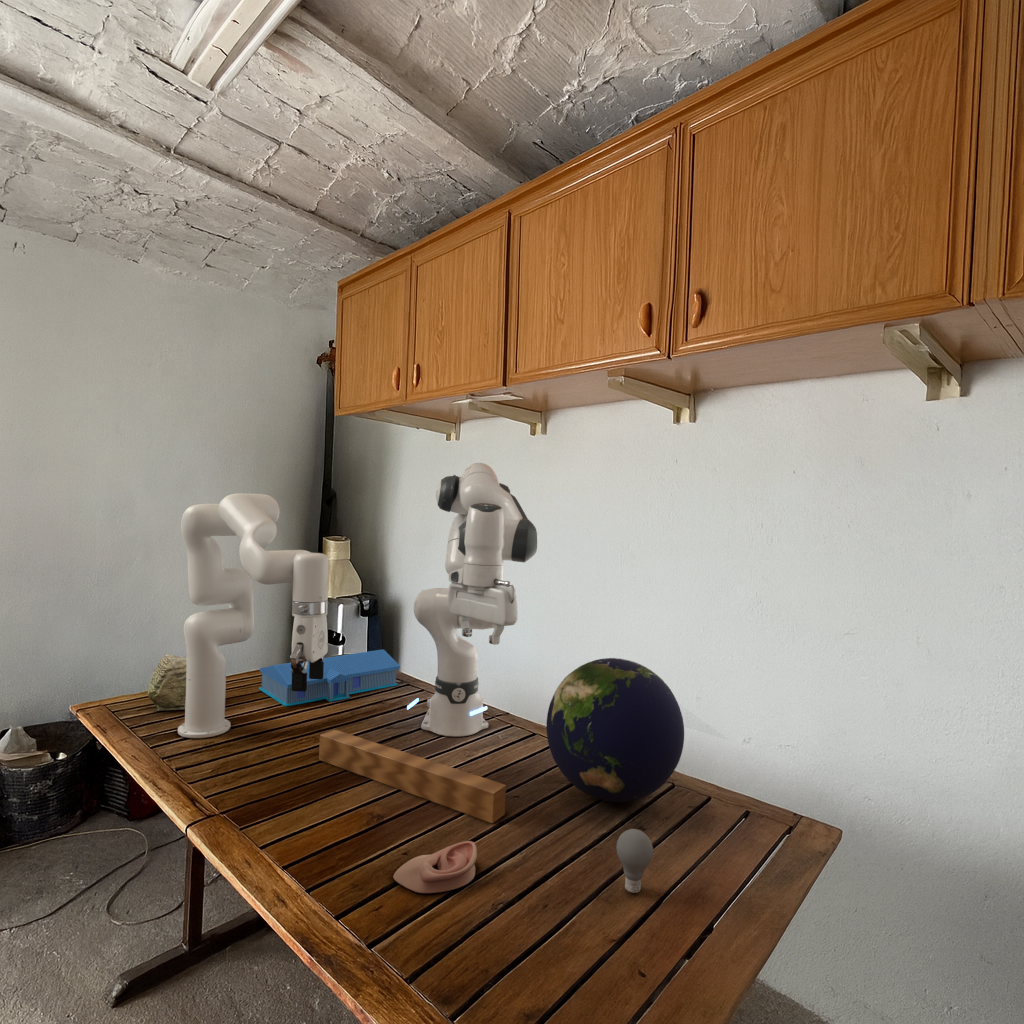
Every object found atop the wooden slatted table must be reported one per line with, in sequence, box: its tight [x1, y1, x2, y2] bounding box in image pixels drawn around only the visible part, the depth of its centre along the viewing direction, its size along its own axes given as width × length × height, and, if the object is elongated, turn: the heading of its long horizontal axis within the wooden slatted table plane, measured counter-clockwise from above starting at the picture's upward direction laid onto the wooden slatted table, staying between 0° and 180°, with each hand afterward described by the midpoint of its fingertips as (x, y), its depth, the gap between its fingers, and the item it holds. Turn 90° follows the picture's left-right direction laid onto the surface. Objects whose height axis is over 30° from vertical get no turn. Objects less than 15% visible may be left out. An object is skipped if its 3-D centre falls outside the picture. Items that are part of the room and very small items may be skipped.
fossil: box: [147, 654, 187, 712], centre depth 185 cm, size 9×18×15 cm, turn 132°
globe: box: [545, 657, 685, 803], centre depth 140 cm, size 30×30×30 cm
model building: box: [258, 649, 401, 707], centre depth 208 cm, size 39×24×10 cm, turn 132°
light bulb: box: [615, 828, 654, 894], centre depth 106 cm, size 6×6×10 cm
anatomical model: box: [392, 840, 478, 894], centre depth 108 cm, size 13×4×12 cm
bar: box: [318, 729, 507, 824], centre depth 141 cm, size 50×5×6 cm, turn 58°
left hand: (307, 684), depth 142 cm, fingers open, 9 cm apart
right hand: (480, 640), depth 139 cm, fingers open, 8 cm apart
